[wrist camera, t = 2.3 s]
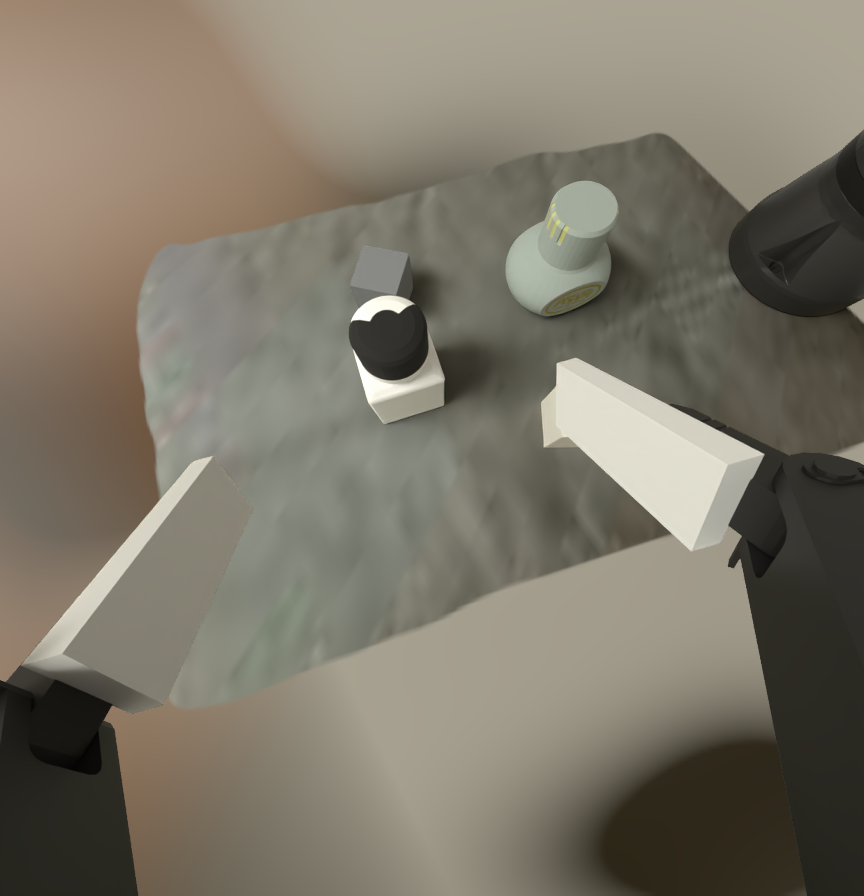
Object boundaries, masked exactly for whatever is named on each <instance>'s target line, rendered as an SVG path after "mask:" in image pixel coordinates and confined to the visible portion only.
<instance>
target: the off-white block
mask: <svg viewBox="0 0 864 896" xmlns="http://www.w3.org/2000/svg"><path fill="white" fill-rule="evenodd" d="M541 409H542V423H543V437H544V447H578V446H577V445H576V444H575V443H574V442H573V441H572V440H571V439H570V438H569V437H568V436H567V435H566V434H564V433H563V432H562V431H561V430H560V429H559V428H558V427H557V426H556V387H555V388H554V389H553V390H552V391H551V392H550V393H549V395H548V396H547V397H546V398H545V399H544V400H543V401H542V402H541Z"/></svg>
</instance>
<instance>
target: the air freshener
mask: <svg viewBox="0 0 864 896" xmlns="http://www.w3.org/2000/svg"><path fill="white" fill-rule="evenodd" d="M618 216H619V206H618V204H617V200H616V198H615V197H614V195H613V194H612V192H611V191H610V190H609V189H607V188H606V187H605V186H603V185H601V184H599V183H596V182H591V181H578V182H574V183H571V184H569V185H567V186H565V187H563V188H561V189H560V190H559V191H558V192H557V193H556V194H555V196H554V198H553V199H552V202H551V205H550V208H549V210H548V213H547V216H546V218H545V221H543V222H540V223H538V224H536V225H534V226H533V227H531V228H529V229H528V230H526V231H525V232H524V233H523V234H521V235H520V236H519V237H518V238H517V239H516V240H515V242H514V243H513V245H512V247H511V249H510V251H509V254H508V257H507V260H506V279H507V283H508V286H509V289H510V291H511V293H512V294H513V296H514V297H515V299H516V300H517V301H518V302H519V303H520V304H521V305H522V306H523V307H525V308H526V309H528V310H529V311H531V312H533V313H536V314H539V315H542V316H554V315H558V314H561V313H565V312H567V311H570V310H572V309H575V308H577V307H579V306H581V305H583V304H585V303H587V302H588V301H590V300H591V299H593V298H594V297H596V296H597V295H598V294H600V293H601V292H602V291H603V290H604V288H605V286H606V284H607V282H608V280H609V276H610V272H611V256H610V251H609V248H608V245H607V243H606V239H607V237H608V236H609V234H610V232H611V231H612V229H613V227H614V226H615V224H616V222H617V220H618Z"/></svg>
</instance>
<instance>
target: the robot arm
mask: <svg viewBox="0 0 864 896" xmlns="http://www.w3.org/2000/svg"><path fill="white" fill-rule="evenodd" d="M729 255H730V261H731V264H732V267H733V270H734V272H735V274H736V276H737V277H738V279H739V280H740V282H741V283H742V284H743V286H744V287H745V288H746V289H747V290H748V291H749V292H750V293H751V294H752V295H754V296H755V297H756V298H757V299H759V300H760V301H762V302H763V303H765V304H767V305H768V306H770V307H773V308H775V309H777V310H780V311H783V312H786V313H789V314H794V315H799V316H822V315H828V314H832V313H835V312H838V311H840V310H842V309H844V308H846V307H848V306H850V305H852V304H854V303H856V302H858V301H860V300H862V299H864V130H863V131H862V132H861V133H860V134H859V135H857V136H856V137H855V138H854V139H853V140H852V141H851V142H850V143H848V145H846V146H845V147H844V148H843V149H842V150H841V151H840V152H838V153H837V154H835V155H834V156H832V157H831V158H829V159H827V160H826V161H824V162H823V163H821V164H819V165H818V166H816V167H815V168H813V169H812V170H810V171H808V172H807V173H805V174H804V175H802V176H800V177H799V178H797V179H796V180H794V181H793V182H791V183H790V184H788V185H787V186H785V187H784V188H781V189H779V190H777V191H776V192H774V193H772V194H771V195H769V196H767V197H766V198H764V199H763V200H762V201H761V202H760V203H758V204H757V205H756V206H755V207H754V208H753V209H752V210H751V211H750V212H749V213H748V214H747V215H746V216H745V217H744V218H743V219H742V220H741V221H740V222H739V223H738V224H737V226H736V227H735V229H734V231H733V233H732V236H731V239H730V244H729ZM556 426H557V427H558V428H559V429H560V430H561V431H562V432H563V433H564V434H566V435H567V436H568V437H569V438H570V439H571V440H572V441H573V442H574V443H575V444H576V445H577V446H578V447H580V448H581V449H582V450H583V451H584V452H585V453H586V454H587V455H588V456H589V457H590V458H591V459H592V460H593V461H595V462H596V463H597V464H598V465H599V466H600V467H601V468H602V469H603V470H604V471H605V472H606V473H607V474H609V475H610V476H611V477H612V478H613V479H614V480H615V481H616V482H617V483H618V484H619V485H620V486H621V487H622V488H624V489H625V490H626V491H627V492H628V493H629V494H630V495H631V496H632V497H633V498H634V499H635V500H636V501H638V502H639V503H640V504H641V505H642V506H643V507H644V508H645V509H646V510H647V511H648V512H649V513H650V514H651V515H653V516H654V517H655V518H656V519H657V520H658V521H659V522H660V523H661V524H662V525H663V526H664V527H665V528H667V529H668V530H669V531H670V532H671V533H672V534H673V535H674V536H675V537H676V538H677V539H679V541H680V542H682V543H683V544H684V545H685V546H686V547H687V548H688V549H689V550H690V551H695V550H699V549H702V548H706V547H709V546H712V545H716V544H719V543H721V541H722V539H723V537H724V535H725V533H726V531H727V529H728V527H729V526H730V527H731V528H732V529H734V530H735V531H737V532H738V533H739V534H740V535H742V537H741V539H740V541H739V542H738V544H737V546H736V548H735V550H734V552H733V553H732V555H731V557H730V559H729V564H728V567H731V568H734V567H735V565H736V564H737V562H738V560H739V559H741V563H742V568H743V572H744V577H745V583H746V588H747V593H748V598H749V603H750V608H751V614H752V618H753V624H754V629H755V634H756V639H757V644H758V649H759V654H760V659H761V664H762V669H763V674H764V680H765V685H766V689H767V695H768V700H769V704H770V710H771V715H772V720H773V725H774V730H775V735H776V740H777V745H778V750H779V756H780V761H781V766H782V771H783V776H784V781H785V786H786V791H787V796H788V801H789V807H790V812H791V817H792V821H793V827H794V832H795V837H796V842H797V846H798V852H799V857H800V862H801V867H802V873H803V878H804V883H805V888H806V892H807V896H864V465H863V464H861V463H858V462H855V461H852V460H849V459H845V458H842V457H839V456H833V455H827V454H821V453H800V454H795V455H790V456H788V455H786V454H784V453H782V452H780V451H778V450H776V449H774V448H772V447H770V446H768V445H766V444H764V443H762V442H760V441H758V440H755V439H753V438H751V437H749V436H747V435H745V434H743V433H741V432H739V431H737V430H735V429H733V428H731V427H729V428H727V427H726V425H725V424H723V423H720V422H718V421H716V420H711V418H710V417H708V416H706V415H704V414H702V413H700V412H698V411H696V410H694V409H690V408H686V407H682V406H678V405H674V404H669V405H667V404H665V403H663V402H662V401H660V400H658V399H656V398H654V397H652V396H650V395H648V394H646V393H644V392H642V391H640V390H638V389H636V388H634V387H632V386H630V385H628V384H626V383H624V382H622V381H620V380H619V379H617V378H615V377H613V376H611V375H609V374H607V373H605V372H603V371H601V370H599V369H597V368H595V367H593V366H591V365H589V364H587V363H585V362H583V361H581V360H579V359H578V358H574V359H570V360H567V361H563V362H559V363H557V384H556ZM252 511H253V507H252V506H251V505H250V503H249V502H248V501H247V499H246V498H245V497H244V495H243V494H242V493H241V492H240V490H239V489H238V488H237V486H236V485H235V484H234V482H233V481H232V480H231V478H230V477H229V476H228V474H227V473H226V472H225V470H224V469H223V468H222V466H221V465H220V464H219V463H218V461H217V460H216V459H215V457H214V456H211V457H208V458H204V459H200V460H197V461H193V462H192V463H191V464H190V465H189V467H188V468H187V469H186V470H185V471H184V473H183V474H182V475H181V476H180V477H179V478H178V480H177V481H176V482H175V483H174V484H173V486H172V487H171V488H170V489H169V490H168V491H167V493H166V494H165V495H164V496H163V497H162V499H161V500H160V501H159V502H158V503H157V505H156V506H155V507H154V508H153V509H152V510H151V512H150V513H149V514H148V515H147V516H146V518H145V519H144V520H143V521H142V522H141V523H140V525H139V526H138V527H137V528H136V530H135V531H134V532H133V533H132V534H131V535H130V537H129V538H128V539H127V540H126V541H125V542H124V544H123V545H122V546H121V547H120V548H119V549H118V551H117V552H116V553H115V554H114V555H113V557H112V558H111V559H110V560H109V562H108V563H107V564H106V565H105V566H104V567H103V568H102V570H101V571H100V572H99V573H98V574H97V576H95V577H94V579H93V580H92V581H91V582H90V584H89V585H88V586H87V587H86V588H85V589H84V591H83V592H82V593H81V594H80V595H79V597H78V598H77V599H76V600H75V601H74V602H73V603H72V605H71V606H70V607H69V608H68V609H67V611H66V612H65V613H64V615H63V616H62V617H61V618H60V619H59V620H58V621H57V622H56V624H55V625H54V626H53V627H52V628H51V629H50V631H49V632H48V633H47V634H46V636H45V637H44V638H43V639H42V640H41V641H40V642H39V644H38V645H37V646H36V647H35V648H34V650H33V651H32V652H31V653H30V654H29V656H28V657H27V658H26V659H25V660H24V661H23V663H22V664H21V665H20V666H19V667H18V668H17V670H16V671H15V672H14V673H13V674H12V676H11V677H10V678H9V679H8V680H7V681H6V682H3V681H1V680H0V896H138V891H137V884H136V877H135V870H134V863H133V857H132V849H131V842H130V835H129V828H128V821H127V814H126V807H125V800H124V793H123V786H122V779H121V772H120V765H119V759H118V751H117V744H116V737H115V730H114V728H113V726H112V725H111V724H110V723H108V722H105V721H103V720H104V719H105V717H106V715H107V713H108V711H109V709H110V708H111V706H115V707H117V708H119V709H122V710H124V711H126V712H129V713H131V714H135V713H138V712H141V711H145V710H148V709H152V708H155V707H159V706H162V705H165V703H166V700H167V698H168V696H169V694H170V692H171V690H172V687H173V685H174V683H175V681H176V679H177V676H178V674H179V672H180V670H181V668H182V665H183V663H184V661H185V659H186V657H187V654H188V652H189V650H190V648H191V645H192V643H193V641H194V639H195V637H196V634H197V632H198V630H199V628H200V626H201V623H202V621H203V619H204V617H205V615H206V612H207V610H208V608H209V606H210V604H211V601H212V599H213V597H214V595H215V592H216V590H217V588H218V586H219V584H220V581H221V579H222V577H223V575H224V573H225V570H226V568H227V566H228V564H229V562H230V559H231V557H232V555H233V553H234V551H235V548H236V546H237V544H238V542H239V540H240V537H241V535H242V533H243V531H244V528H245V526H246V524H247V522H248V520H249V517H250V515H251V513H252Z"/></svg>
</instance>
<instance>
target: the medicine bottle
mask: <svg viewBox="0 0 864 896" xmlns="http://www.w3.org/2000/svg"><path fill="white" fill-rule="evenodd" d="M349 339H350V343H351V346H352V348H353V351H354V354H355V358H356V361H357V365H358V368H359V372H360V375H361V379H362V382H363V386H364V389H365V393H366V396H367V400H368V402H369V404H370V405H371V407H372V408H373V410H374V411H375V412H376V414H377V415H378V416H379V418H380V419H381V421H382V422H383V423H384V424H387V423H390V422H393V421H397V420H400V419H403V418H406V417H409V416H413V415H416V414H419V413H422V412H425V411H429V410H432V409H435V408H438V407H441V406H443V405H444V404H445V377H444V374H443V371H442V368H441V365H440V363H439V360H438V357H437V354H436V351H435V348H434V345H433V342H432V339H431V336H430V333H429V331H428V328H427V323H426V319H425V317H424V315H423V313H422V311H421V310H420V309H419V308H418V307H417V306H416V305H415V304H414V303H413V302H411V301H409V300H408V299H405V298H403V297H399V296H381V297H377V298H374V299H372V300H370V301H368V302H366V303H365V304H364V305H362V306H361V307H360V308H359V309H358V310H357V312H356V313H355V315H354V316H353V318H352V320H351V323H350V327H349Z"/></svg>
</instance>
